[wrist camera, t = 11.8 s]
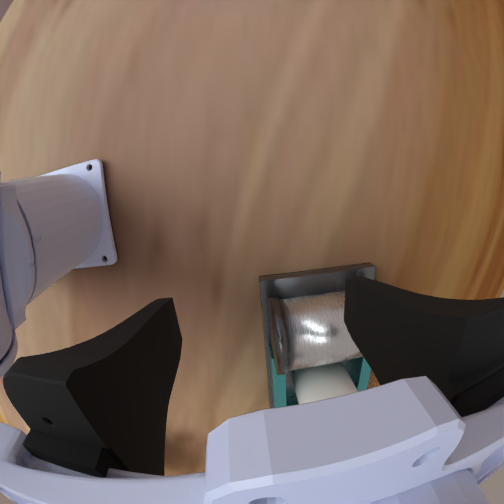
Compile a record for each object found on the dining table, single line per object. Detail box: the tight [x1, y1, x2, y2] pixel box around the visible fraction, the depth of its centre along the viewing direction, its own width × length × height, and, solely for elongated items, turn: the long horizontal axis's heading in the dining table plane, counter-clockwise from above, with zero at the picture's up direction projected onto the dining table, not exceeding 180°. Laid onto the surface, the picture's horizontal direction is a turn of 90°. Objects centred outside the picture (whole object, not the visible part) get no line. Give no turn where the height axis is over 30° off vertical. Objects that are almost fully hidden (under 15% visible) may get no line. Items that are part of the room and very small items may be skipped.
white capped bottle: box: [292, 361, 358, 404], centre depth 19 cm, size 5×5×7 cm
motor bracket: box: [259, 262, 375, 408], centre depth 20 cm, size 10×14×6 cm
